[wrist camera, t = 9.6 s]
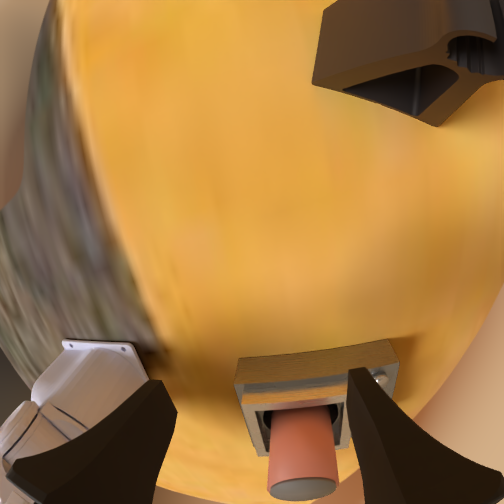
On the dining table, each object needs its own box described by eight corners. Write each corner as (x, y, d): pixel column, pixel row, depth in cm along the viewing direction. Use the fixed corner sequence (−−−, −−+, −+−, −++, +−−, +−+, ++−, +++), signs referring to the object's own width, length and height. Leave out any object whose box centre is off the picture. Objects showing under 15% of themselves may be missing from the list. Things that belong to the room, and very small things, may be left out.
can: (276, 434, 20) (273, 503, 13) (266, 402, 18) (260, 483, 12) (330, 427, 19) (338, 496, 12) (328, 394, 18) (340, 474, 11)
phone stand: (439, 57, 12) (550, 7, 1) (434, 127, 14) (574, 120, 3) (322, 12, 13) (361, -111, 1) (310, 84, 14) (362, -33, 3)
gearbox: (256, 423, 24) (252, 459, 19) (238, 358, 21) (230, 398, 17) (376, 408, 22) (386, 442, 18) (387, 338, 19) (406, 375, 15)
